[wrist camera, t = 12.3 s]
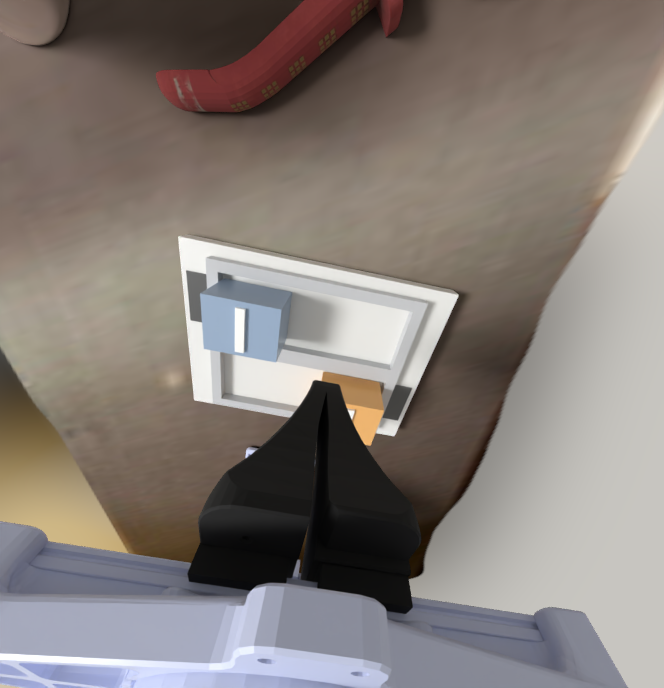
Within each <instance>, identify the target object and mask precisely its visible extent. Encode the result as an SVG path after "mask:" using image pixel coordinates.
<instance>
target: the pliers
mask: <svg viewBox="0 0 664 688" xmlns="http://www.w3.org/2000/svg"><path fill="white" fill-rule="evenodd" d="M375 6H376V9H377V12H378V15H379V18H380V20H381V23H382V26H383V29H384V32H385V35H386V37H387V36H388V35H389V34H391V33H392V32H393V31H394V30H395V29H397V28H398V26H399V22H400V18H401V14H402V10H403V0H304V1H303V2H302V3H301V4H300V5H299V6H298V7H297V8H296V9H295V10H294V11H293V12H292V13H290V14H289V15H288V16H287V17H286V18H285V19H284V20H283V21H282V22H281V23H280V24H279V25H278V26H277V27H276V28H275V29H274V30H273V31H272V32H271V33H270V34H269V35H268V36H267V37H266V38H265V39H264V40H263V41H262V42H261V43H260V44H259V45H258V46H257V47H256V48H254V49H253V50H252V51H251V52H249V53H248V54H247V55H245V56H244V57H242V58H241V59H239V60H238V61H236V62H234V63H232V64H230V65H227V66H224V67H221V68H217V69H212V70H162V71H159V72H157V73H156V78H157V82H158V85H159V88H160V90H161V92H162V93H163V94H164V96H165V97H166V98H167V99H168V100H169V101H170V102H171V103H172V104H173V105H175V106H176V107H178V108H180V109H182V110H185V111H204V112H241V111H244V110H247V109H251V108H253V107H255V106H257V105H259V104H260V103H262V102H264V101H265V100H267V99H269V98H270V97H272V96H273V95H274V94H276V93H277V92H279V91H280V90H281V89H282V88H283V87H284V86H286V85H287V84H288V83H289V82H290V81H291V80H292V79H293V78H295V77H296V76H297V75H298V74H299V73H300V72H301V71H303V70H304V69H305V68H306V67H307V66H308V65H309V64H310V63H312V62H313V61H314V60H315V59H316V58H317V57H318V56H319V55H321V54H322V53H323V52H324V51H325V50H326V49H327V48H329V47H330V46H331V45H332V44H333V43H334V42H335V41H336V40H338V39H339V38H340V37H341V36H342V35H343V34H344V33H346V32H347V31H348V30H349V29H350V28H351V27H352V26H353V25H355V24H356V23H357V22H358V21H359V20H360V19H361V18H363V17H364V16H365V15H366V14H367V13H368V12H369V11H370V10H372V9H373V8H374V7H375Z"/></svg>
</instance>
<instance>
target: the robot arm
mask: <svg viewBox="0 0 664 688" xmlns="http://www.w3.org/2000/svg"><path fill="white" fill-rule="evenodd" d="M316 442H317V447H316ZM315 453H316V468H315V482H314V489H313V478H314V467H315ZM312 495H313V496H312ZM198 525H199V533H200V545H199V547H198V549H197V552H196V554H195V556H194V559H193V561H192V563H187V562H181V561H174V560H167V559H161V558H154V557H148V556H141V555H135V554H128V553H122V552H115V551H109V550H102V549H95V548H89V547H83V546H76V545H70V544H63V543H56V542H50V541H48V538H47V536H46V534H45V533H44V532H43V531H42V530H40V529H38V528H36V527H32V526H28V525H21V524H15V523H8V522H2V521H0V684H3V685H9V686H15V687H21V688H628V687H627V685H626V684H625V682H624V680H623V678H622V677H621V675H620V673H619V671H618V670H617V668H616V667H615V664H614V663H613V661H612V659H611V658H610V656H609V654H608V652H607V651H606V649H605V648H604V645H603V644H602V642H601V640H600V639H599V637H598V635H597V633H596V632H595V630H594V628H593V626H592V625H591V623H590V621H589V619H588V618H587V616H586V614H585V613H583V612H581V611H574V610H568V609H562V608H554V607H548V608H543V609H541V610H539V611H537V612H536V613H535V614H534V616H533V615H527V614H520V613H514V612H507V611H500V610H494V609H487V608H481V607H474V606H468V605H461V604H455V603H448V602H442V601H435V600H428V599H422V598H415V597H411V591H410V585H409V579H408V576H410V574H411V570H410V564H409V558H410V557H411V556H412V554H413V553H414V552H415V551H416V549H417V548H418V546H419V545H420V542H421V534H420V529H419V525H418V521H417V518H416V515H415V512H414V509H413V506H412V504H411V502H410V501H409V500H408V499H407V498H406V497H405V496H404V495H403V494H402V493H401V492H400V491H399V490H398V489H397V487H396V486H395V485H394V484H393V483H392V482H391V481H390V479H389V478H388V477H387V476H386V475H385V473H384V472H383V471H382V469H381V468H380V467H379V465H378V464H377V462H376V461H375V460H374V458H373V457H372V455H371V454H370V452H369V451H368V449H367V448H366V446H365V444H364V443H363V441H362V439H361V437H360V435H359V434H358V432H357V430H356V428H355V426H354V423H353V421H352V419H351V417H350V414H349V412H348V409H347V407H346V404H345V401H344V398H343V395H342V391H341V387H340V385H339V384H335V383H329V382H324V381H319V380H314V381H313V382H312V385H311V387H310V389H309V391H308V393H307V395H306V397H305V398H304V400H303V401H302V403H301V404H300V406H299V407H298V408H297V410H296V411H295V412H294V413H293V415H292V416H291V417H290V418H289V420H288V421H287V422H286V423H285V424H284V425H283V426H282V427H281V428H280V429H279V430H278V431H277V432H276V433H275V434H274V435H273V436H272V437H271V438H270V439H269V440H268V441H267V442H266V443H264V444H263V445H262V446H261V447H260V448H253V447H249V448H247V451H246V459H244V460H243V461H241V462H240V463H238V464H237V465H235V466H234V467H232V468H231V469H229V470H228V471H227V472H226V473H225V474H224V475H223V477H222V478H221V479H220V481H219V482H218V483H217V485H216V486H215V488H214V489H213V491H212V492H211V494H210V496H209V497H208V499H207V501H206V503H205V505H204V508H203V510H202V512H201V514H200V516H199V521H198ZM307 528H308V532H307V538H306V545H305V552H304V559H303V565H302V572H301V574H300V573H299V567H300V560H298V559H299V555H300V552H301V548H302V545H303V542H304V538H305V535H306V531H307Z"/></svg>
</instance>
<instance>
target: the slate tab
mask: <svg viewBox="0 0 664 688" xmlns="http://www.w3.org/2000/svg"><path fill="white" fill-rule="evenodd" d="M291 299H292V292H289V291H284V290H279V289H274V288H269V287H265V286H260V285H255V284H250V283H245V282H240V281H235V280H230V279H225V278H224V279H222V280H221V281H219V282H218V283H216V284H214V285H213V286H211V287H210V288H208V289H206V290H205V291H203V292H202V293H200V300H201V315H202V330H203V345H204V349H207V350H212V351H217V352H223V353H228V354H233V355H238V356H244V357H249V358H254V359H259V360H265V361H270V362H275V363H276V362H277V360H278V357H279V355H280V353H281V351H282V348H283V346H284V344H285V342H286V339H287V332H288V324H289V315H290V307H291Z"/></svg>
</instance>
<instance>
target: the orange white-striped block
mask: <svg viewBox="0 0 664 688" xmlns="http://www.w3.org/2000/svg"><path fill="white" fill-rule="evenodd" d="M321 381H324V382H329V383H335V384H339V385H340V387H341V391H342V395H343V398H344V401H345V404H346V407H347V409H348V412H349V414H350V417H351V419H352V421H353V423H354V426H355V428H356V430H357V432H358V434H359V435H360V437H361V439H362V441H363V443H364V444H365V445H371V443H372V440H373V438H374V435H375V433H376V430H377V428H378V425H379V423H380V420H381V418H382V415H383V413H384V406H383V401H382V395H381V389H380V383H379V382H375V381H370V380H365V379H360V378H354V377H349V376H344V375H339V374H333V373H328V372H323V375H322V380H321Z"/></svg>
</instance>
